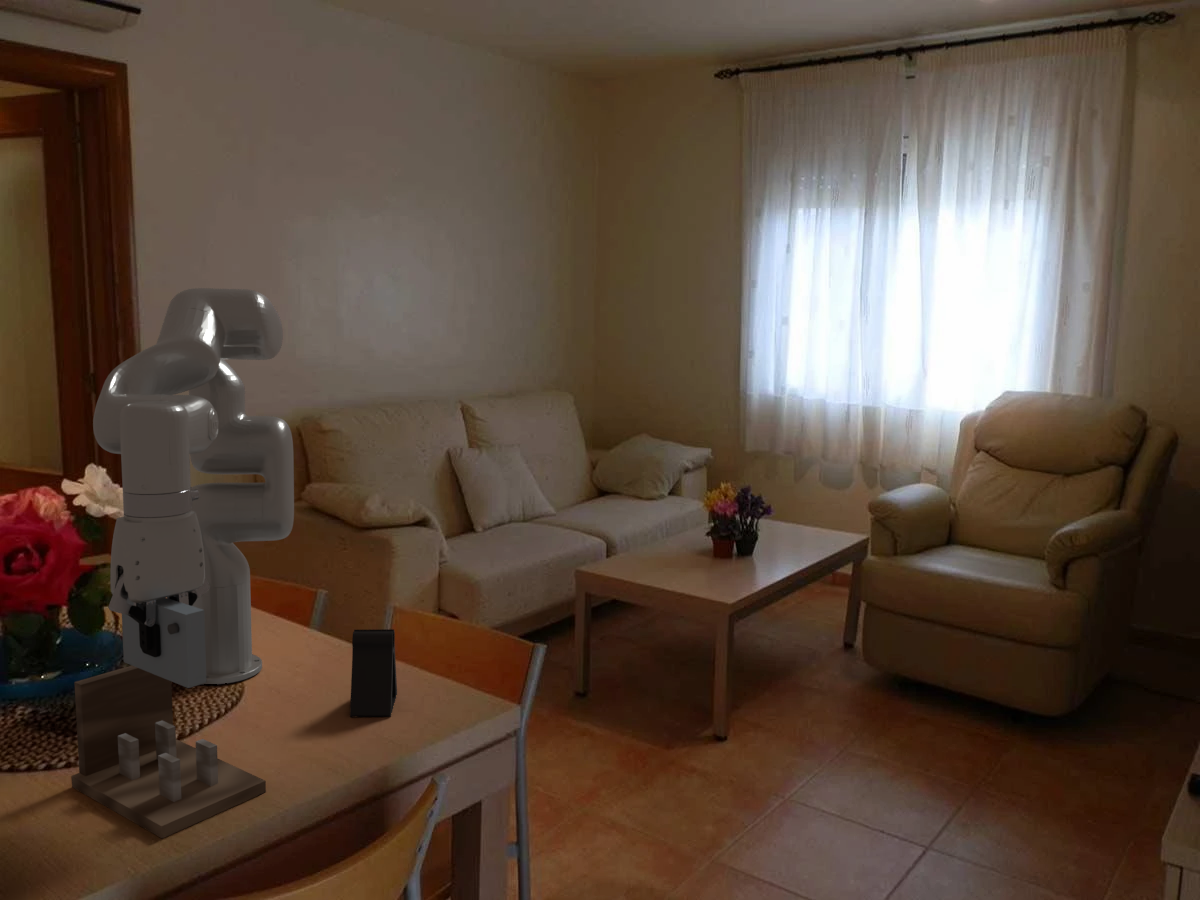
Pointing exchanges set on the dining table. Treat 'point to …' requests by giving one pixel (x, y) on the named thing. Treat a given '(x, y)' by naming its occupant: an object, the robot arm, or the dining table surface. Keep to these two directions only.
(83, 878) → the dining table surface
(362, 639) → the phone stand
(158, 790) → the wooden peg rack
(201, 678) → the blue-grey rectangular block
